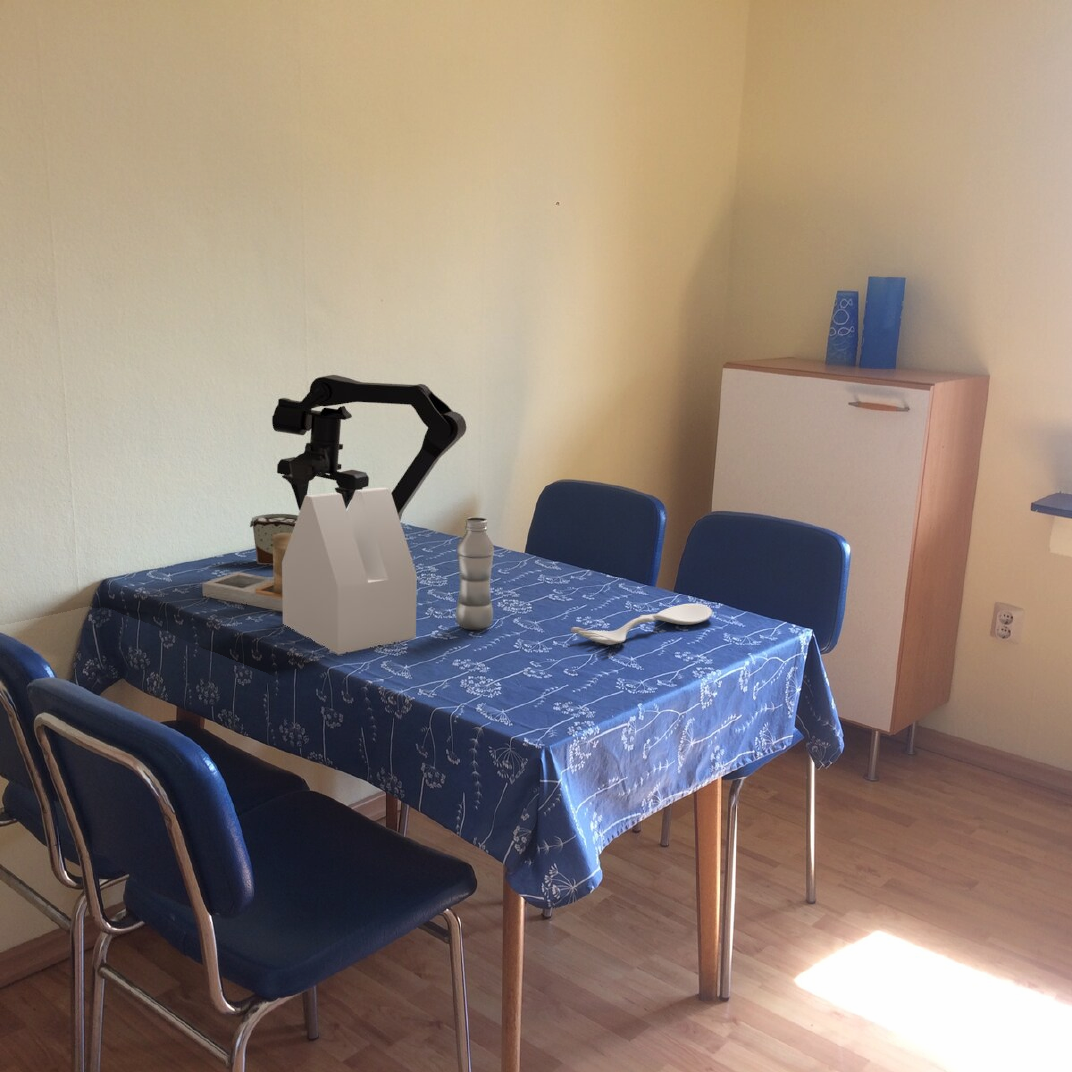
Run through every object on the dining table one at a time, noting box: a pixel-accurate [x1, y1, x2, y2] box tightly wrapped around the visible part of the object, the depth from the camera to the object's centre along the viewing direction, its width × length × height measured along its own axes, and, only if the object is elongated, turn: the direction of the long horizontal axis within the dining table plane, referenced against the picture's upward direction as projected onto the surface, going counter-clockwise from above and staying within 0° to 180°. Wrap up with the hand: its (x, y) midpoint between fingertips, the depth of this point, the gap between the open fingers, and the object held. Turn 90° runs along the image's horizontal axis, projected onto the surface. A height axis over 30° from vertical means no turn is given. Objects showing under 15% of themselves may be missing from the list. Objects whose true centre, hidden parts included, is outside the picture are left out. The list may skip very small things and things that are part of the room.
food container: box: [249, 513, 299, 566], centre depth 238 cm, size 12×6×10 cm, turn 84°
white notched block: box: [282, 486, 418, 655], centre depth 192 cm, size 19×15×25 cm
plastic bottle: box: [455, 516, 495, 631], centre depth 197 cm, size 6×7×20 cm
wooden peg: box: [272, 533, 292, 594], centre depth 209 cm, size 5×5×13 cm
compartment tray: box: [202, 571, 283, 613], centre depth 212 cm, size 21×10×3 cm, turn 65°
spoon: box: [570, 603, 714, 646], centre depth 201 cm, size 9×32×4 cm, turn 134°
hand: (319, 514), depth 225 cm, fingers open, 9 cm apart
